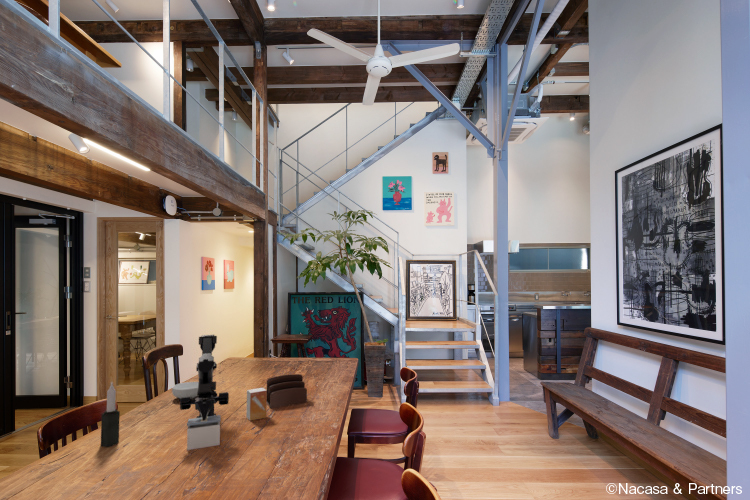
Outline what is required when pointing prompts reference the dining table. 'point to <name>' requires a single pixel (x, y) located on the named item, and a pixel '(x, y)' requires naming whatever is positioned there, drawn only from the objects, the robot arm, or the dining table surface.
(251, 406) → the small box
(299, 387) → the letter holder
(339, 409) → the dining table surface
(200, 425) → the storage box
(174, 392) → the cereal bowl
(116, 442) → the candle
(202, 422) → the lid
